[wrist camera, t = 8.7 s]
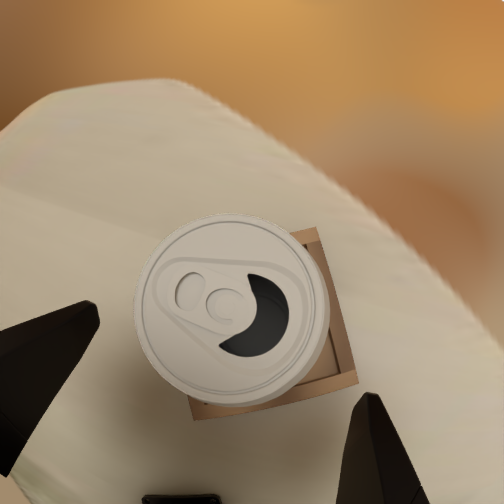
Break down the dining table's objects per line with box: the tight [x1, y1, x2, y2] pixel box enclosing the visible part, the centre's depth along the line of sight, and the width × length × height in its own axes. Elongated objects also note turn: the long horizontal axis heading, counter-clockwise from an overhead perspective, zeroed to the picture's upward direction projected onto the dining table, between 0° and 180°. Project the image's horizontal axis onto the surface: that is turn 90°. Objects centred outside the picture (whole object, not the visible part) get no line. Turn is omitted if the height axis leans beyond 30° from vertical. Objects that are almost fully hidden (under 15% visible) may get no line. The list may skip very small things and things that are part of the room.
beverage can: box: [134, 213, 330, 407], centre depth 14 cm, size 6×6×12 cm
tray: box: [187, 227, 359, 421], centre depth 19 cm, size 11×11×2 cm
